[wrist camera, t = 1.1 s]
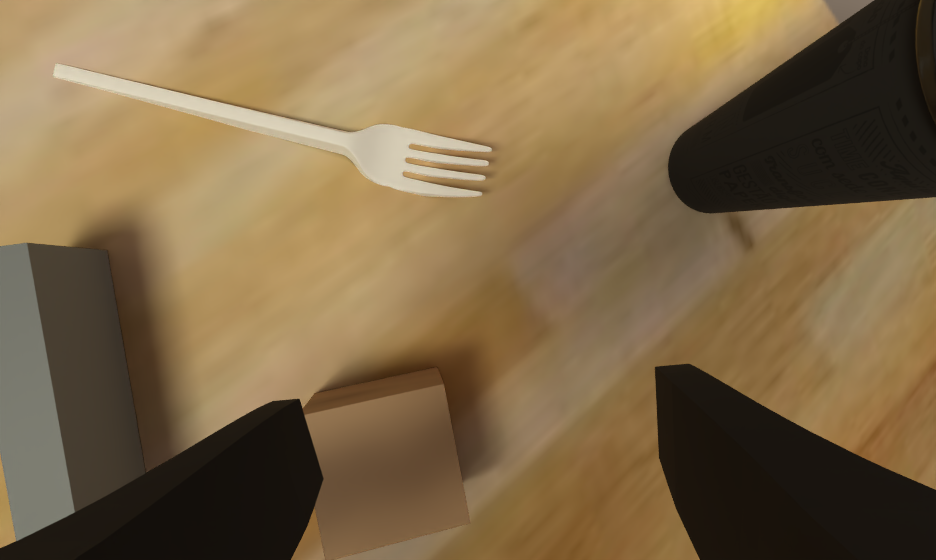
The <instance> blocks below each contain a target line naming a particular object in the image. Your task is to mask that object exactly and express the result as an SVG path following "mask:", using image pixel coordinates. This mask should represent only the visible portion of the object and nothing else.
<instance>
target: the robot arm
mask: <svg viewBox="0 0 936 560" xmlns="http://www.w3.org/2000/svg"><path fill="white" fill-rule="evenodd" d="M655 378H656V400H657V423H658V445H659V459H660V462H661V465H662V468H663V471H664V474H665V477H666V480H667V483H668V486H669V489H670V492H671V495H672V498H673V501H674V504H675V507H676V509H677V511H678V514H679V516H680V518H681V520H682V522H683V525H684V527H685V529H686V531H687V533H688V535H689V537H690V539H691V542H692V544H693V546H694V548H695V550H696V552H697V554H698V556H699V559H700V560H936V490H935V489H932V488H930V487H928V486H925V485H923V484H921V483H918V482H916V481H914V480H911V479H909V478H907V477H904V476H902V475H900V474H898V473H895V472H893V471H891V470H888V469H886V468H884V467H882V466H880V465H877V464H875V463H873V462H871V461H869V460H867V459H864V458H862V457H860V456H858V455H856V454H854V453H852V452H850V451H848V450H846V449H844V448H842V447H840V446H838V445H836V444H834V443H832V442H830V441H828V440H826V439H824V438H822V437H820V436H818V435H816V434H814V433H812V432H810V431H808V430H806V429H804V428H803V427H801V426H799V425H797V424H795V423H793V422H791V421H789V420H788V419H786V418H784V417H782V416H780V415H779V414H777V413H775V412H773V411H771V410H770V409H768V408H766V407H764V406H762V405H761V404H759V403H757V402H755V401H754V400H752V399H750V398H749V397H747V396H745V395H743V394H742V393H740V392H738V391H737V390H735V389H733V388H731V387H730V386H728V385H726V384H725V383H723V382H721V381H719V380H718V379H716V378H714V377H713V376H711V375H709V374H707V373H706V372H704V371H702V370H700V369H698V368H697V367H695V366H693V365H691V364H681V365H670V366H659V367H655ZM323 479H324V478H323V475H322V471H321V468H320V465H319V461H318V458H317V455H316V452H315V448H314V445H313V442H312V438H311V435H310V432H309V429H308V425H307V422H306V419H305V415H304V412H303V409H302V406H301V402H300V399H292V400H280V401H272V402H270V403H268V404H265V405H263V406H261V407H259V408H257V409H255V410H253V411H251V412H250V413H248V414H246V415H244V416H242V417H241V418H239V419H237V420H235V421H234V422H232V423H230V424H229V425H227V426H225V427H223V428H222V429H220V430H218V431H217V432H215V433H213V434H212V435H210V436H208V437H207V438H205V439H203V440H202V441H200V442H198V443H197V444H195V445H193V446H192V447H190V448H188V449H187V450H185V451H183V452H182V453H180V454H178V455H177V456H175V457H173V458H172V459H170V460H168V461H166V462H165V463H163V464H161V465H159V466H158V467H156V468H154V469H152V470H151V471H149V472H147V473H145V474H144V475H142V476H140V477H138V478H137V479H135V480H133V481H131V482H130V483H128V484H126V485H124V486H123V487H121V488H119V489H117V490H115V491H114V492H112V493H110V494H108V495H107V496H105V497H103V498H101V499H99V500H97V501H95V502H94V503H92V504H90V505H88V506H86V507H84V508H82V509H80V510H78V511H76V512H74V513H73V514H71V515H69V516H67V517H65V518H63V519H61V520H59V521H57V522H55V523H53V524H50V525H48V526H46V527H44V528H42V529H40V530H38V531H36V532H34V533H32V534H30V535H28V536H26V537H24V538H22V539H20V540H18V541H16V542H13V543H11V544H9V545H7V546H5V547H2V548H0V560H291V558H292V556H293V554H294V552H295V550H296V548H297V546H298V544H299V542H300V540H301V538H302V536H303V534H304V532H305V530H306V528H307V525H308V523H309V520H310V517H311V515H312V512H313V509H314V506H315V504H316V501H317V498H318V495H319V492H320V489H321V485H322V482H323Z"/></svg>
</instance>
